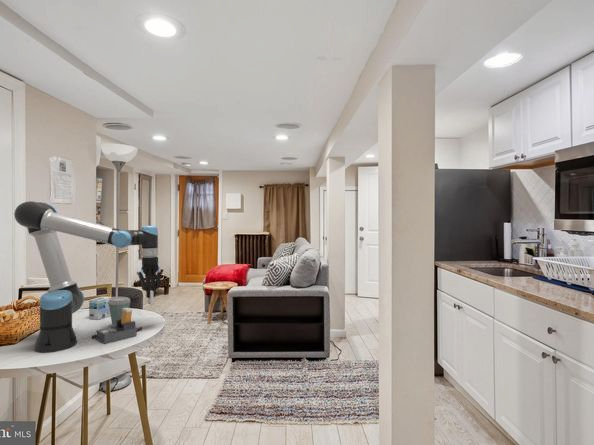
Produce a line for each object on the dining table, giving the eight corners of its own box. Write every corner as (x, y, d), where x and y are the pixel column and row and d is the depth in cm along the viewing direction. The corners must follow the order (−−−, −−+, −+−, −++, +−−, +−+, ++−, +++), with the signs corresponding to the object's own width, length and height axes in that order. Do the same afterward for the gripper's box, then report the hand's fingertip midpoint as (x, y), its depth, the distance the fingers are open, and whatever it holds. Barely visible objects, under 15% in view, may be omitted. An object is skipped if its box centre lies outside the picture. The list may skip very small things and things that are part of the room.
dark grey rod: (92, 338, 165) (92, 335, 165) (91, 338, 166) (91, 335, 166) (134, 329, 179) (134, 326, 179) (132, 329, 180) (132, 326, 180)
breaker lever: (125, 328, 167) (127, 309, 167) (120, 325, 170) (122, 308, 171) (130, 327, 168) (132, 309, 169) (125, 325, 172) (127, 307, 173)
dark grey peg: (134, 332, 174) (134, 329, 174) (132, 332, 175) (132, 329, 175) (142, 329, 179) (142, 327, 179) (140, 329, 179) (140, 326, 179)
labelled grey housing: (104, 344, 158) (104, 328, 158) (96, 339, 165) (96, 323, 165) (136, 336, 168) (136, 321, 168) (127, 332, 175) (127, 317, 175)
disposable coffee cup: (132, 323, 190) (132, 295, 190) (128, 329, 180) (128, 299, 180) (111, 324, 188) (110, 296, 188) (105, 330, 177) (105, 300, 177)
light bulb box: (98, 320, 197) (98, 300, 197) (88, 319, 199) (88, 299, 199) (113, 315, 208) (113, 296, 207) (103, 314, 209) (103, 296, 209)
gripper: (140, 258, 171) (141, 307, 171) (166, 255, 181) (166, 302, 181) (133, 257, 176) (134, 305, 176) (158, 255, 186) (159, 300, 186)
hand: (150, 303), depth 178 cm, fingers closed
